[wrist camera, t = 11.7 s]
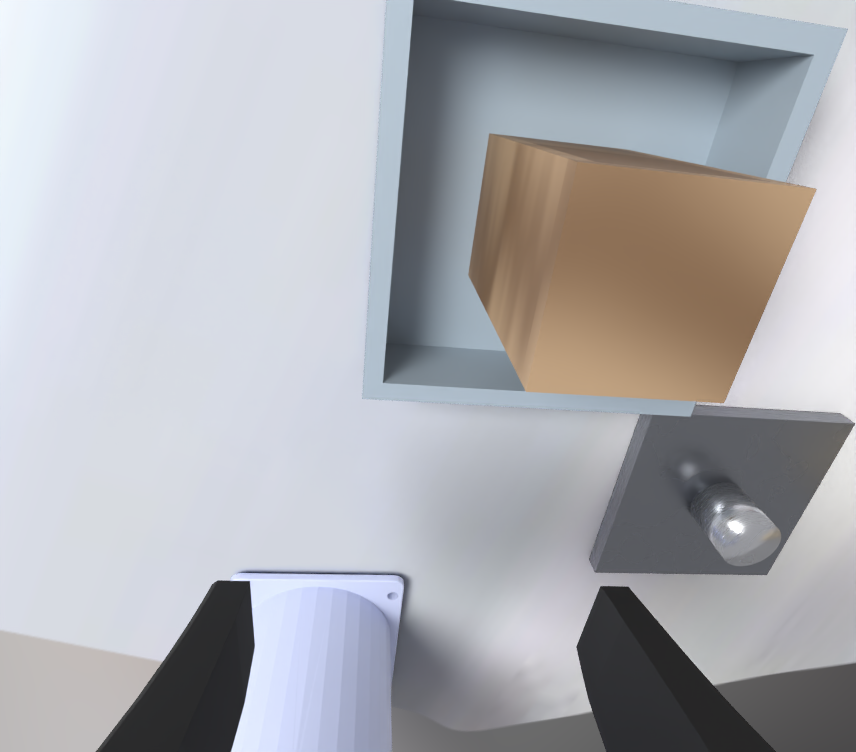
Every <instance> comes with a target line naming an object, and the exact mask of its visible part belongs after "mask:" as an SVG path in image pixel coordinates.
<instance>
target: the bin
mask: <svg viewBox="0 0 856 752" xmlns="http://www.w3.org/2000/svg"><path fill="white" fill-rule="evenodd" d="M847 30H848V29H845V28H839V27H833V26H826V25H820V24H814V23H808V22H801V21H795V20H789V19H782V18H776V17H770V16H764V15H757V14H751V13H745V12H738V11H732V10H726V9H720V8H713V7H707V6H701V5H694V4H688V3H682V2H676V1H669V0H386V12H385V29H384V45H383V62H382V78H381V95H380V111H379V128H378V145H377V161H376V178H375V194H374V211H373V228H372V244H371V261H370V277H369V294H368V310H367V327H366V344H365V360H364V377H363V393H362V399H374V400H392V401H411V402H429V403H448V404H466V405H484V406H503V407H521V408H539V409H558V410H576V411H595V412H613V413H631V414H650V415H668V416H686V417H691V414H692V412H693V409H694V407H695V404H696V402H697V401H679V400H661V399H643V398H626V397H608V396H590V395H572V394H555V393H537V392H526V391H525V389H524V387H523V385H522V383H521V381H520V379H519V377H518V375H517V373H516V371H515V369H514V367H513V365H512V363H511V361H510V359H509V357H508V355H507V353H506V351H505V349H504V346H503V344H502V342H501V340H500V338H499V336H498V334H497V332H496V330H495V328H494V326H493V324H492V322H491V320H490V318H489V316H488V314H487V312H486V310H485V308H484V306H483V304H482V302H481V300H480V298H479V296H478V294H477V292H476V290H475V288H474V286H473V284H472V282H471V280H470V278H469V276H468V273H469V266H470V259H471V253H472V246H473V239H474V232H475V226H476V219H477V212H478V205H479V199H480V192H481V185H482V178H483V172H484V165H485V158H486V151H487V145H488V138H489V133H491V134H500V135H508V136H517V137H525V138H534V139H542V140H551V141H559V142H568V143H576V144H585V145H593V146H602V147H610V148H619V149H627V150H632V151H637V152H642V153H647V154H651V155H656V156H661V157H666V158H671V159H675V160H680V161H685V162H690V163H695V164H699V165H704V166H709V167H714V168H719V169H723V170H728V171H733V172H738V173H743V174H747V175H752V176H757V177H762V178H767V179H771V180H776V181H781V182H786V180H787V178H788V175H789V173H790V171H791V168H792V166H793V163H794V161H795V158H796V156H797V153H798V151H799V148H800V146H801V144H802V141H803V139H804V136H805V134H806V131H807V129H808V126H809V124H810V121H811V119H812V116H813V114H814V112H815V109H816V107H817V104H818V102H819V99H820V97H821V94H822V92H823V89H824V87H825V85H826V82H827V80H828V77H829V75H830V72H831V70H832V67H833V65H834V62H835V60H836V57H837V55H838V53H839V50H840V48H841V45H842V43H843V40H844V38H845V35H846V33H847Z"/></svg>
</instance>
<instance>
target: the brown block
mask: <svg viewBox="0 0 856 752" xmlns="http://www.w3.org/2000/svg"><path fill="white" fill-rule="evenodd" d="M815 192H816V189H815V188H810V187H805V186H800V185H795V184H791V183H786V182H781V181H776V180H771V179H767V178H762V177H757V176H752V175H747V174H743V173H738V172H733V171H728V170H723V169H719V168H714V167H709V166H704V165H699V164H695V163H690V162H685V161H680V160H675V159H671V158H666V157H661V156H656V155H651V154H647V153H642V152H637V151H632V150H627V149H619V148H610V147H602V146H593V145H585V144H576V143H568V142H559V141H551V140H542V139H534V138H525V137H517V136H508V135H500V134H491V133H489V138H488V145H487V151H486V158H485V165H484V172H483V178H482V185H481V192H480V199H479V205H478V212H477V219H476V226H475V232H474V239H473V246H472V253H471V259H470V266H469V273H468V276H469V278H470V280H471V282H472V284H473V286H474V288H475V290H476V292H477V294H478V296H479V298H480V300H481V302H482V304H483V306H484V308H485V310H486V312H487V314H488V316H489V318H490V320H491V322H492V324H493V326H494V328H495V330H496V332H497V334H498V336H499V338H500V340H501V342H502V344H503V346H504V349H505V351H506V353H507V355H508V357H509V359H510V361H511V363H512V365H513V367H514V369H515V371H516V373H517V375H518V377H519V379H520V381H521V383H522V385H523V387H524V389H525V391H526V392H537V393H555V394H572V395H590V396H608V397H626V398H643V399H661V400H679V401H697V402H714V403H724V402H725V399H726V397H727V395H728V392H729V390H730V388H731V386H732V383H733V381H734V379H735V376H736V374H737V372H738V369H739V367H740V365H741V362H742V360H743V358H744V356H745V353H746V351H747V349H748V346H749V344H750V342H751V339H752V337H753V335H754V332H755V330H756V328H757V326H758V323H759V321H760V319H761V316H762V314H763V312H764V309H765V307H766V305H767V302H768V300H769V298H770V296H771V293H772V291H773V289H774V286H775V284H776V282H777V279H778V277H779V275H780V272H781V270H782V268H783V266H784V263H785V261H786V259H787V256H788V254H789V252H790V249H791V247H792V245H793V242H794V240H795V238H796V235H797V233H798V231H799V229H800V226H801V224H802V222H803V219H804V217H805V215H806V212H807V210H808V208H809V205H810V203H811V201H812V199H813V196H814V194H815Z"/></svg>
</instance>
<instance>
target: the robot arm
mask: <svg viewBox="0 0 856 752" xmlns="http://www.w3.org/2000/svg"><path fill="white" fill-rule="evenodd" d="M391 592H394V593H391ZM403 593H404V581H403V579H402V578H401V577H399V576H396V575H342V574H267V573H239V574H235V575H233V576H232V577H231V580H230V581H216V582H215V583H214V584H212V586H211V587H210V589H209V591H208V593H207V594H206V596H205V598H204V600H203V601H202V603H201V604H200V606H199V608H198V609H197V611H196V613H195V614H194V616H193V617H192V619H191V621H190V622H189V624H188V625H187V627H186V628H185V630H184V631H183V633H182V634H181V636H180V637H179V639H178V640H177V642H176V643H175V645H174V646H173V648H172V650H171V651H170V652H169V654H168V655H167V657H166V658H165V660H164V661H163V662H162V664H161V665H160V667H159V668H158V669H157V671H156V672H155V674H154V675H153V677H152V678H151V680H150V681H149V682H148V684H147V685H146V686H145V688H144V689H143V691H142V692H141V694H140V695H139V696H138V698H137V699H136V700H135V702H134V703H133V704H132V706H131V707H130V708H129V710H128V711H127V712H126V713H125V715H124V716H123V717H122V719H121V720H120V721H119V723H118V724H117V725H116V726H115V728H114V729H113V730H112V732H111V733H110V734H109V736H108V737H107V738H106V739H105V741H104V742H103V743H102V745H101V746H100V747H99V748H98V750H97V751H96V752H392V722H391V721H392V720H391V717H392V716H391V686H392V678H393V670H394V662H395V655H396V647H397V639H398V631H399V624H400V616H401V608H402V600H403ZM577 651H578V656H579V660H580V665H581V670H582V674H583V678H584V682H585V687H586V691H587V695H588V699H589V702H590V705H591V708H592V711H593V714H594V717H595V719H596V722H597V725H598V729H599V731H600V734H601V737H602V740H603V743H604V746H605V749H606V752H776V751H775V750H774V749H773V748H772V747H771V746H770V745H769V744H768V743H767V742H766V741H765V740H764V739H763V738H762V737H761V736H760V735H759V734H758V733H757V732H756V731H755V730H754V729H753V728H752V727H751V726H750V725H749V724H748V722H747V721H745V719H744V718H743V717H742V716H741V715H740V714H739V713H738V712H737V711H736V710H735V709H734V708H733V707H732V706H731V704H729V702H728V701H727V700H726V699H725V698H724V697H723V696H722V695H721V694H720V692H718V690H717V689H716V688H715V687H714V686H713V685H712V684H711V682H710V681H709V680H708V679H707V678H706V677H705V676H704V675H703V673H702V672H701V671H700V670H699V669H698V668H697V667H696V666H695V664H694V663H693V662H692V661H691V660H690V659H689V658H688V656H687V655H686V654H685V653H684V652H683V651H682V649H681V648H680V647H679V646H678V645H677V644H676V642H675V641H674V640H673V639H672V638H671V637H670V635H669V634H668V633H667V632H666V631H665V630H664V628H663V627H662V626H661V625H660V624H659V623H658V621H657V620H656V619H655V618H654V617H653V615H652V614H651V613H650V612H649V611H648V610H647V608H646V607H645V606H644V605H643V604H642V602H641V601H640V600H639V599H638V598H637V597H636V595H635V594H634V593H633V592H632V591H631V590H630V588H629V587H616V586H601V587H600V589H599V592H598V594H597V597H596V599H595V602H594V604H593V607H592V609H591V612H590V614H589V617H588V619H587V622H586V624H585V627H584V629H583V632H582V634H581V637H580V639H579V642H578V644H577Z"/></svg>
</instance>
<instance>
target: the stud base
mask: <svg viewBox="0 0 856 752" xmlns="http://www.w3.org/2000/svg"><path fill="white" fill-rule="evenodd" d="M854 425H855V423H853V422H852V421H851V420H849V419H848V418H846V417H845V416H843V415H842V414H840V413H823V412H806V411H789V410H771V409H754V408H736V407H719V406H702V405H695V407H694V409H693V412H692V414H691V417H686V416H668V415H650V414H640V417H639V419H638V422H637V425H636V428H635V431H634V434H633V436H632V439H631V442H630V445H629V448H628V451H627V453H626V456H625V459H624V462H623V465H622V468H621V470H620V473H619V476H618V479H617V482H616V485H615V487H614V490H613V493H612V496H611V499H610V502H609V504H608V507H607V510H606V513H605V516H604V518H603V521H602V524H601V527H600V530H599V533H598V535H597V538H596V541H595V544H594V547H593V550H592V552H591V555H590V558H589V560H590V563H591V565H592V567H593V569H594V571H595V572H596V573H664V574H733V575H767V574H768V572H769V570H770V569H771V567H772V565H773V563H774V562H775V560H776V558H777V557H778V555H779V553H780V551H781V550H782V548H783V546H784V545H785V543H786V541H787V539H788V538H789V536H790V534H791V533H792V531H793V529H794V527H795V526H796V524H797V522H798V521H799V519H800V517H801V515H802V514H803V512H804V510H805V509H806V507H807V505H808V503H809V502H810V500H811V498H812V497H813V495H814V493H815V492H816V490H817V488H818V486H819V485H820V483H821V481H822V480H823V478H824V476H825V474H826V473H827V471H828V469H829V468H830V466H831V464H832V462H833V461H834V459H835V457H836V456H837V454H838V452H839V450H840V449H841V447H842V445H843V444H844V442H845V440H846V438H847V437H848V435H849V433H850V432H851V430H852V428H853V426H854Z"/></svg>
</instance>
